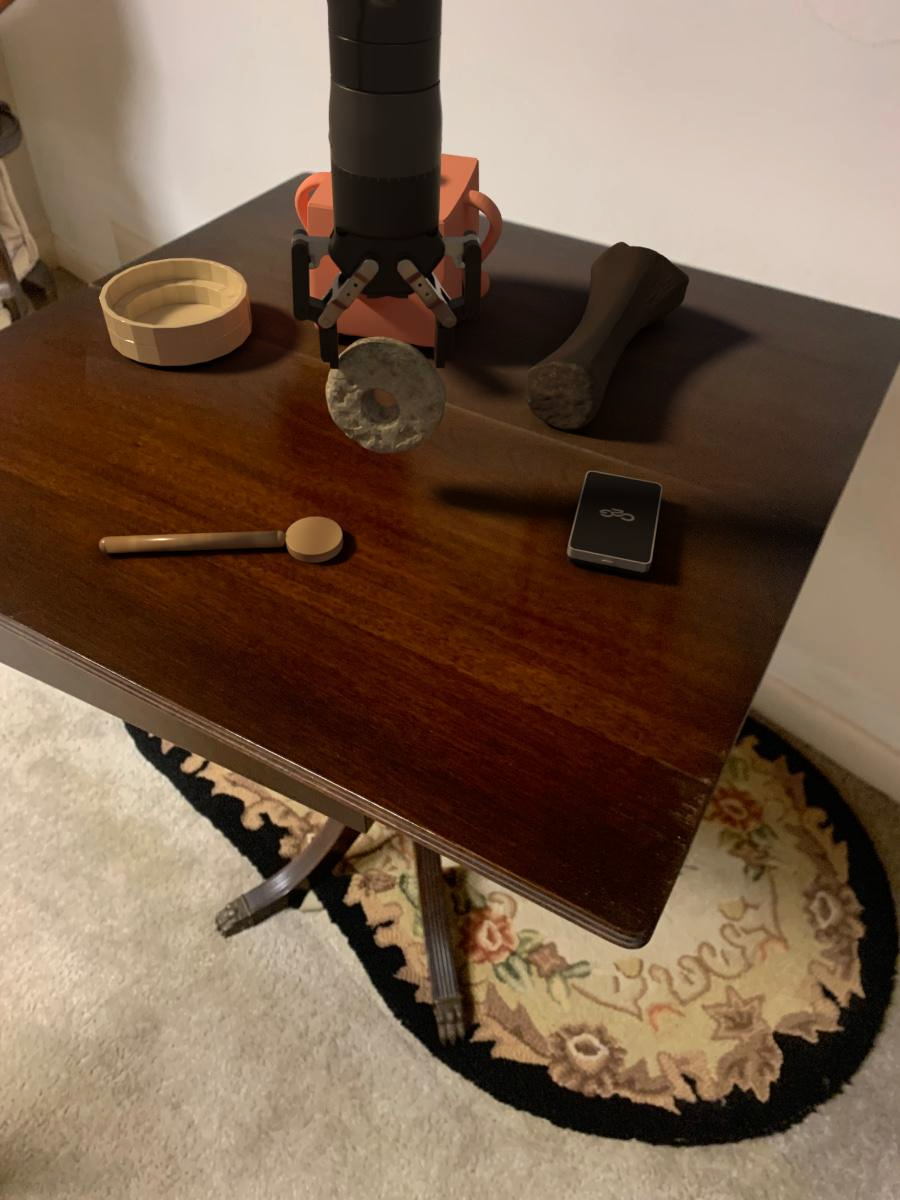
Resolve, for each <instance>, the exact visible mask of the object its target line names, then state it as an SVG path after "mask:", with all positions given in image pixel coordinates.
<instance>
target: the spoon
mask: <svg viewBox="0 0 900 1200" xmlns="http://www.w3.org/2000/svg"><path fill="white" fill-rule="evenodd" d="M285 545H286V550H287V552H288V553H289V555H290V556H291V557H293V558H294V559H295V560H298V561H300V562H303V563H308V564H316V563H323V562H326V561H329V560H331V559H333V558H334V557H336V556H337V555H338V554H339V553H340V552H341V550H342V549H343V546H344V535H343V529H342V528H341V525H339V524H338V523H337V522H336V521H335V520H333V519H331V518H328V517H324V516H307V517H304V518H301V519H298V520H296V521H294V523H292V524H291V525H290V526H289V527H288V528H287V530H286V532H284V531H283V530H256V531H255V530H253V531H230V532H229V531H227V532H223V531H222V532H198V533H169V534H167V533H166V534H142V535H141V534H140V535H114V536H113V535H112V536H111V535H110V536H104V537H102V538H101V539H100V541H99V543H98V547H99V549H100V551H101V552H102V553H104V554H129V553H130V554H131V553H158V552H161V553H162V552H181V551H183V552H185V551H186V552H187V551H210V550H211V551H212V550H213V551H215V550H238V549H239V550H240V549H263V548H264V549H267V548H281V547H283V546H285Z"/></svg>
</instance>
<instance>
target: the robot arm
mask: <svg viewBox="0 0 900 1200" xmlns="http://www.w3.org/2000/svg"><path fill="white" fill-rule="evenodd" d="M326 5H327V6H326V7H327V33H328V34H327V35H328V36H327V37H328V38H327V39H328V55H329V56H328V57H329V74H330V75H329V80H330V82H329V83H330V85H329V100H328V138H327V139H328V142H329V156H330V171H331V178H332V198H333V218H334V227H333V230H332V233H331V235H330V236H329V237H318V236H309V235H308V233H307V231H306V229H303V228H297V229H295V230H294V231H293V232H292V236H291V249H290V253H291V254H290V258H291V284H292V312H293V313H292V314H293V317H294V318H295V319H296V321H300V322H305V321H311V322H313V324H314V323H316V324H317V326H318V328H319V329H318V338H319V351H320V358H321V360H322V363H329V369H339V355H340V354H339V333H338V331H337V319H338V318H339V317H340V315H341V314H342V313H343V311H344V310H347V309H348V308H349V307H350V306H351V304H352V303H353V302H354V300H355V299H356V298H357V297H358V295H359V294H360V293H361V294H363V295H366V296H367V299H377V298H381V297H385V296H390V297H394V298H398V299H400V298H408V295H411V294H414V293H416V294H417V295H418V296H419V298H420V299H421V300H422V302H423V303H424V304H425V305H426V307H427V308H428V309H430V310H431V311H432V312H433V313H434V315H435V342H434V347H433V355H434V356H433V357H434V366H435V369H445V368H446V362H451V361H452V359H453V357H454V353H455V335H456V333H455V332H456V330H455V329H456V327H457V325H458V323H460V322H461V321H465V320H468V321H476V320H477V319H478V318H480V316H481V303H482V302H481V301H482V300H481V299H482V298H481V270H482V264H481V261H482V251H481V247H480V246H481V243H480V238H479V239H478V235H477V233H476V232H475V231H473V230H468V231H466V232H464V233H463V235H462V237H442V235H441V233H440V231H439V210H440V183H441V153H442V149H443V124H444V123H443V120H444V118H443V117H444V116H443V115H444V114H443V105H442V92H441V64H442V63H441V61H442V60H441V59H442V34H443V33H442V32H443V0H326ZM325 255H329V256H330V258H331V259H332V261H333V262H334V263H335V264H336V266H337V267H338V268H339V269H340V271H339V273H338V274H337V275H336V277H335V278H334V280H333V282H332V285H331V287H330V288H329V289H328V291H327V292H326V293H325V295H324V296H323V297H322V299H321V300H320V299H317V298H314V297H311V296H310V270H309V269H315V268H317V267H318V266H319V264H320V260H321V258H322V257H323V256H325ZM444 255H448V256H450V257H451V258H452V259H453V263H454V266H455V267H456V268H458V269H462V296H460V297H457V298H454V299H451V298H450V297H449V296H448V294H447V293H446V292H445V290H444V289H443V288H442V286H441V285H440V283H439V281H438V279H437V277H436V276H435V274H434V273H433V271H434V269H435V268H436V267H437V266H438V264H439V263H440V262H441V261H442V259H443V257H444Z"/></svg>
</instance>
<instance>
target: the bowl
mask: <svg viewBox="0 0 900 1200" xmlns="http://www.w3.org/2000/svg"><path fill="white" fill-rule="evenodd" d="M248 288H249V287H248V283H247V282H246V280H245V278H244V277H243V275H242V274H241V273H240V272H238V271H237V270H235V269H234V268H233V267H231V266H229V265H226V264H223V263H221V262H218V261H215V260H210V259H209V260H208V259H202V258H195V257H179V258H178V257H175V258H174V257H173V258H172V257H171V258H165V259H158V260H157V259H156V260H151V261H147V262H144V263H141V264H137V265H134V266H131V267H129V268H127V269H124V270H123V271H121V272H119V273H118V274H115V275H114V276H113V277H111V278H110V280H108V281H107V282H106V283H105V284H104V285H103V287H102V289H101V292H100V294H99V297H98V299H99V303H100V307H101V311H102V313H103V318H104V321H105V324H106V328H107V332H108V335H109V339H110V343H111V346H112V347H113V348H114V349H115V350H117V352H119V353H120V354H121V355H122V356H124V357H126V358H128V359H131V360H133V361H135V362H138V363H141V364H142V363H143V364H148V365H154V366H155V365H156V366H160V367H171V366H172V367H173V366H174V367H175V366H176V367H177V366H182V367H183V366H189V365H195V364H201V363H206V362H210V361H213V360H215V359H217V358H220V357H223V356H225V355H228V354H230V353H232V352H233V351H234V350H236V349H237V348H238V347H240V346H242V345H243V344H244V343H245V341H246V340H247V339H248V337H249V336H250V334H251V333H252V329H253V328H252V326H253V316H252V309H251V303H250V295H249V289H248Z"/></svg>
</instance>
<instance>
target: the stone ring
mask: <svg viewBox="0 0 900 1200" xmlns="http://www.w3.org/2000/svg"><path fill="white" fill-rule="evenodd" d="M329 369H330V368H329ZM445 385H446V384H445V383H444V381H443V379H442V377H441V375H440V374H439V372H438V371H437V368H436V367H434V366H433V365H432V364H431V362H430V361H429V359H428V358H427V357H426V356H425V355H424V354H423V353H422V352H421V351H420V350H419V349H417V348H416V347H414V346H413V345H412V344H409V343H405V342H403V341H400V340H397V339H394V338H388V337H362V338H359V339H357V340H355V341H354V342H353V343H352V344H349V345H348V346H347V347H346V348H345V349H344V351H342V352H341V353H340V354H339V369H330V370H329V371H328V375H327V381H326V383H325V398H326V403H327V409H328V412H329V414H330V416H331V418H332V420H333V422H334V423H335V425H336V426H337V427H338V428H339V429H340V430H341V431H342V432H343V433H344V434H345V436H346V437H348V438H349V439H350V440H353V441H355V442H356V443H358V444H359V446H361V447H363V448H365V449H367V451H371V452H374V453H377V454H400V453H404V452H408V451H412V450H414V449H415V448H418V447H420V446H422V445H423V444H425V443H426V442H427V441H429V440H430V439H431V438H432V437H434V435H435V433H436V431H437V430H438V428H439V427H440V424H441V422H442V420H443V416H444V412H445V407H446V406H445V405H446V401H447V389H446V386H445ZM375 390H380V391H384V392H386V393H387V394H389V396H391V397H393V399H394V401H395V403H396V404H393V405H391V406H388V405H385V404H382V403H381V402H380V401H379V400H378V399H377V397H376V393H375Z"/></svg>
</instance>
